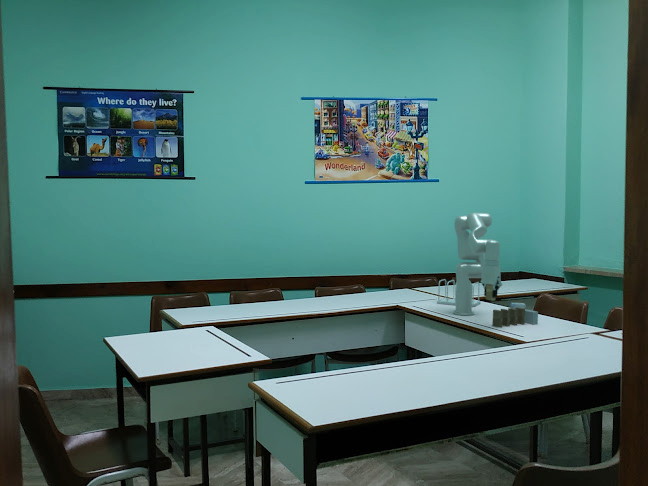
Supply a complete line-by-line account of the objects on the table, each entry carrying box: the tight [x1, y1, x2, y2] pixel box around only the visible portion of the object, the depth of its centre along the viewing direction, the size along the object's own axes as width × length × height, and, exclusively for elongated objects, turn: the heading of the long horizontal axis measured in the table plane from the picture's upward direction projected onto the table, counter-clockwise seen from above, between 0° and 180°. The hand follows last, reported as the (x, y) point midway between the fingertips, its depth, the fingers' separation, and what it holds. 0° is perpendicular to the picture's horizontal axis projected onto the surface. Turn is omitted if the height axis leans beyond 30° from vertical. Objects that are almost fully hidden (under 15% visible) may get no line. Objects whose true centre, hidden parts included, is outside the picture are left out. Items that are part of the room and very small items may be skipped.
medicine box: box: [510, 302, 527, 309], centre depth 373 cm, size 8×4×9 cm, turn 84°
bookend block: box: [525, 308, 539, 326], centre depth 358 cm, size 4×10×7 cm, turn 32°
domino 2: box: [491, 309, 503, 328], centre depth 345 cm, size 2×5×9 cm, turn 32°
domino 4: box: [507, 307, 518, 327], centre depth 351 cm, size 2×5×9 cm, turn 32°
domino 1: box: [485, 284, 497, 301], centre depth 341 cm, size 2×5×9 cm, turn 32°
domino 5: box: [515, 307, 526, 326], centre depth 354 cm, size 2×5×9 cm, turn 31°
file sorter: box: [436, 278, 481, 308], centre depth 421 cm, size 25×17×16 cm
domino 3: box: [500, 308, 511, 328], centre depth 348 cm, size 2×5×9 cm, turn 32°
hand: (490, 296), depth 341 cm, fingers closed on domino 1, 5 cm apart
